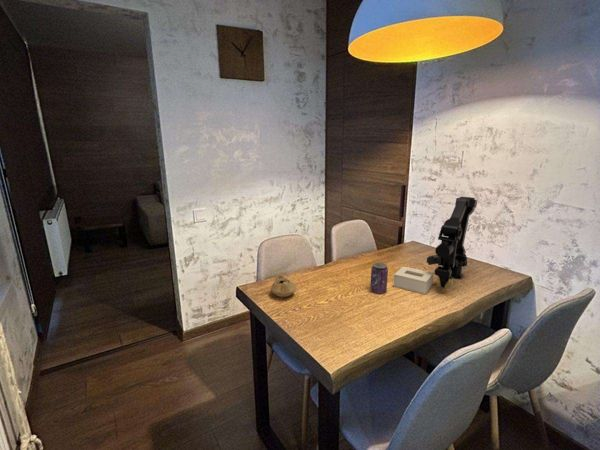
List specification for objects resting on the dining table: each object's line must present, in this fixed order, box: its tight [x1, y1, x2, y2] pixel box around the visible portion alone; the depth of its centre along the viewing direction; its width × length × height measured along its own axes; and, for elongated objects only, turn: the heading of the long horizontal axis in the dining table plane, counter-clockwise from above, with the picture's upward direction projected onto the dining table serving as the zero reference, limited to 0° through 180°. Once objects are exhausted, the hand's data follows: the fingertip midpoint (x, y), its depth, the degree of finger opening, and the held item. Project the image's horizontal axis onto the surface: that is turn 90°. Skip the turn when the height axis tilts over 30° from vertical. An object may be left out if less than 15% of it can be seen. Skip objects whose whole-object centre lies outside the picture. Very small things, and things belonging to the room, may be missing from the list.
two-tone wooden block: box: [436, 276, 454, 291], centre depth 146 cm, size 2×6×5 cm, turn 54°
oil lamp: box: [270, 275, 297, 298], centre depth 139 cm, size 11×15×8 cm
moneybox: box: [393, 266, 435, 295], centre depth 147 cm, size 12×14×6 cm
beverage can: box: [369, 262, 389, 294], centre depth 141 cm, size 7×7×12 cm
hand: (444, 284), depth 146 cm, fingers open, 8 cm apart
